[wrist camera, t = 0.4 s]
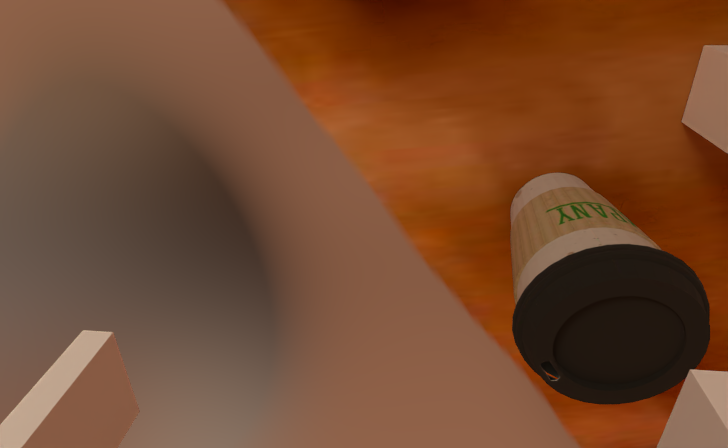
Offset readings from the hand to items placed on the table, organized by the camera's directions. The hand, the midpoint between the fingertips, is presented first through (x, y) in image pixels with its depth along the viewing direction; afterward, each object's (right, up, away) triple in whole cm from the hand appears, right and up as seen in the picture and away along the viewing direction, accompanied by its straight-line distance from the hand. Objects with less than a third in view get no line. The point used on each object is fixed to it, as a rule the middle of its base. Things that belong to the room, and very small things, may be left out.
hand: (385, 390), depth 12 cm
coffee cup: (+14, +5, +27) cm, 30 cm away
